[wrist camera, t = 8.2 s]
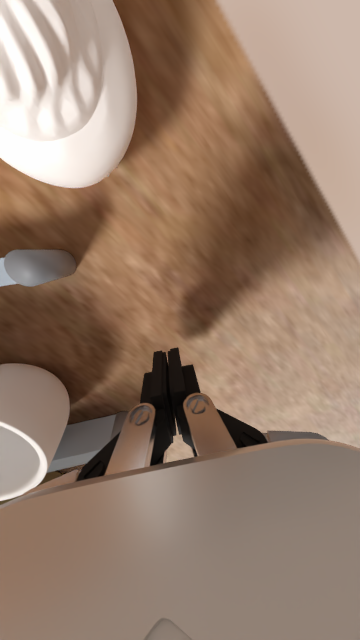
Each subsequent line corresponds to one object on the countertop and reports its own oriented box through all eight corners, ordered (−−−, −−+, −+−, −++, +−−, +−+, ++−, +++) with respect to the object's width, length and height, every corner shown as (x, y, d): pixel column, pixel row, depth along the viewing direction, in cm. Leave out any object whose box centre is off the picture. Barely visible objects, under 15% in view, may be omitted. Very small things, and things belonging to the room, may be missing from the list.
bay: (70, 247, 11) (34, 246, 8) (133, 421, 17) (128, 461, 14) (-163, 283, 10) (-314, 300, 7) (-7, 453, 16) (-47, 504, 13)
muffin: (-17, 66, 8) (-840, -818, 1) (116, 32, 8) (-53, -908, 1) (56, 219, 10) (-109, 168, 4) (157, 191, 10) (161, 96, 4)
